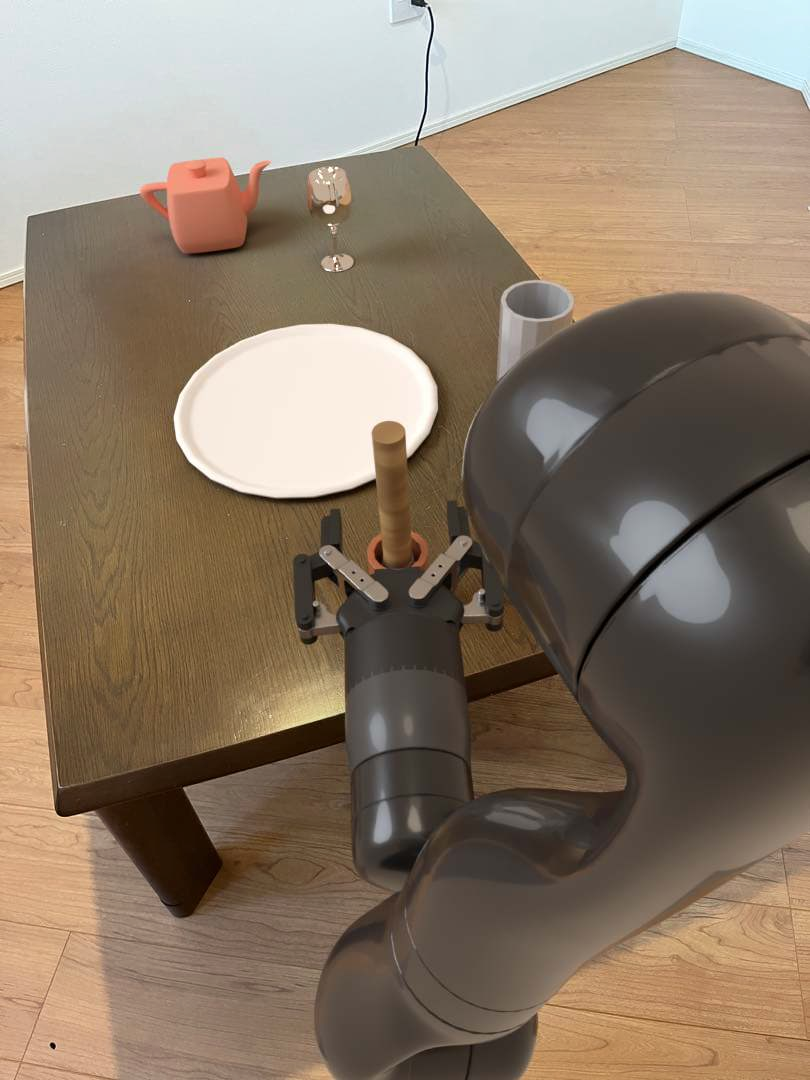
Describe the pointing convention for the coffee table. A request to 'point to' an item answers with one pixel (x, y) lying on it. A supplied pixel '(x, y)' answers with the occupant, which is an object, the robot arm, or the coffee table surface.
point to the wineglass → (331, 209)
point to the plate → (302, 409)
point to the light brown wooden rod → (393, 494)
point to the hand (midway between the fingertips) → (393, 511)
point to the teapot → (205, 204)
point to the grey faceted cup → (530, 318)
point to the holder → (417, 549)
